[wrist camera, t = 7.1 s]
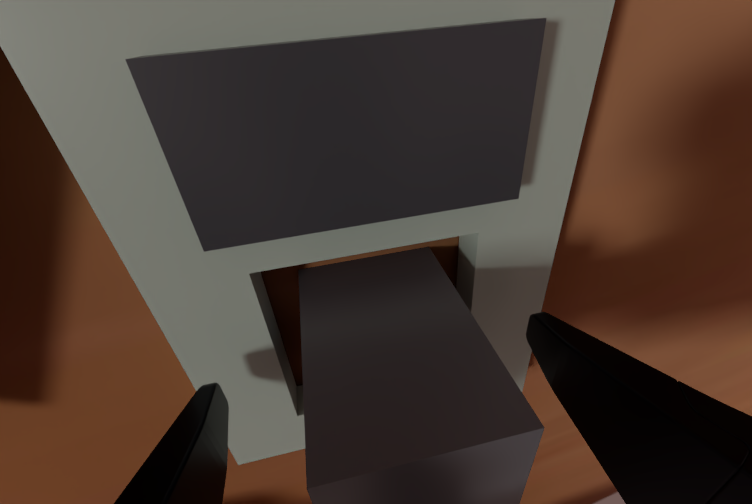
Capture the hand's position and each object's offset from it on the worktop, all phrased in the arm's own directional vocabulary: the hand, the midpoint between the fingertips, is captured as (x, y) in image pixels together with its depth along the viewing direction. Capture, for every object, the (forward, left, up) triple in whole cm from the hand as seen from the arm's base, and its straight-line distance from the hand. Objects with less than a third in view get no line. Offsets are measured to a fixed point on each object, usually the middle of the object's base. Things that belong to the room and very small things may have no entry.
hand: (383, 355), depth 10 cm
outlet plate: (+2, 0, -2) cm, 3 cm away
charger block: (0, 0, -2) cm, 2 cm away
